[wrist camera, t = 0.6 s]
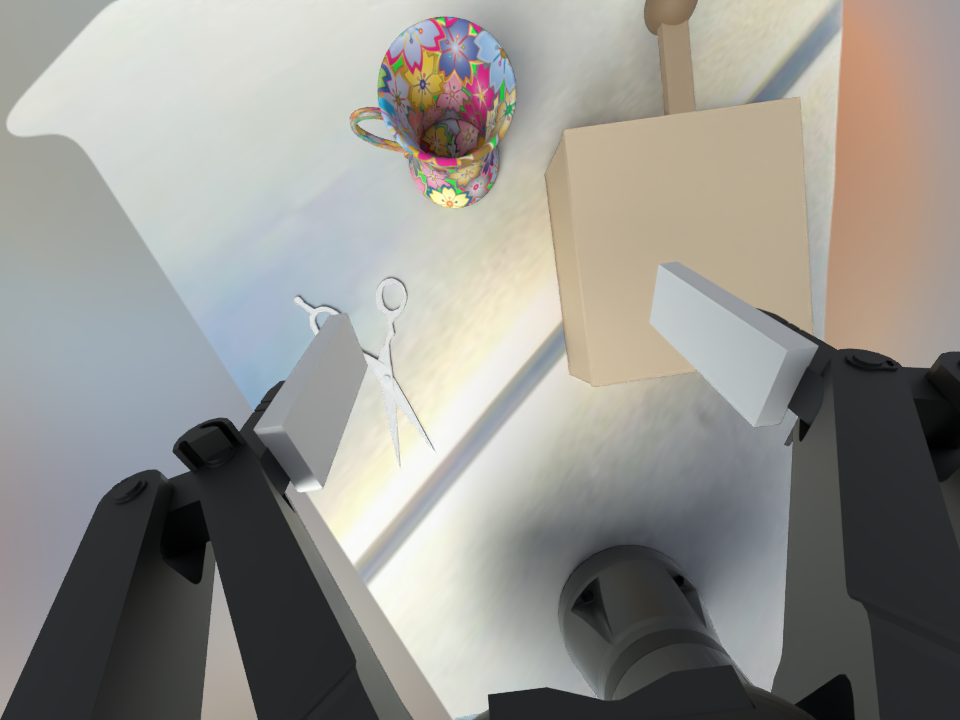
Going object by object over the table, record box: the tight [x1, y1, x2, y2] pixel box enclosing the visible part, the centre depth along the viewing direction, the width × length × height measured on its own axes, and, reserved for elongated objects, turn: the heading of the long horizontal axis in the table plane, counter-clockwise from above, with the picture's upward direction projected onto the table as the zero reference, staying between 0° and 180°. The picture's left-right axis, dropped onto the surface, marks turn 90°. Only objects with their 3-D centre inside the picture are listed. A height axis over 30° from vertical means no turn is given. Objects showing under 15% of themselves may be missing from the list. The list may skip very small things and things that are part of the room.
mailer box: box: [545, 139, 591, 384], centre depth 31 cm, size 20×18×7 cm
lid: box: [562, 0, 813, 387], centre depth 27 cm, size 30×18×4 cm, turn 8°
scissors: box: [294, 278, 435, 466], centre depth 35 cm, size 11×1×20 cm
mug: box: [350, 17, 516, 208], centre depth 28 cm, size 12×9×11 cm
